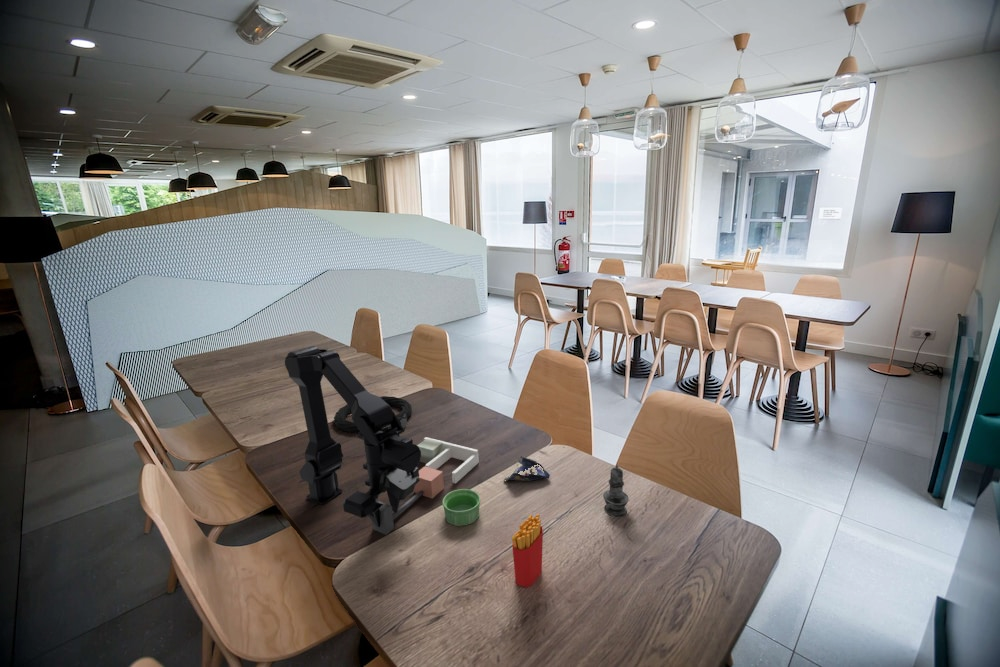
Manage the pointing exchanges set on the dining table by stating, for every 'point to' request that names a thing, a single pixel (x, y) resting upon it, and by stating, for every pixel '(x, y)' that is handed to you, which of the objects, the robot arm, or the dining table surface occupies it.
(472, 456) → the lane rack
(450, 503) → the ramekin
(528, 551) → the french fries
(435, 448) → the sage block
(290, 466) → the dining table surface
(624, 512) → the dark chess piece
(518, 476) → the snack package
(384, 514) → the tethered block
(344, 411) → the cable lock
